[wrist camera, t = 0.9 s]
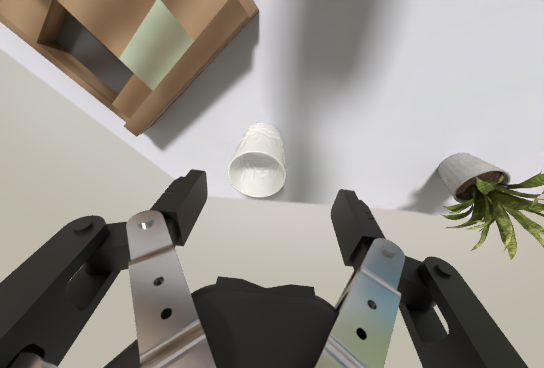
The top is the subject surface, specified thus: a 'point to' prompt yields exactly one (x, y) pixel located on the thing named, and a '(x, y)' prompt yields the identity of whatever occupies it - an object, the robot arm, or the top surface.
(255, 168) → the white cup
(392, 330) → the robot arm
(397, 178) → the top surface
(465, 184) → the house plant
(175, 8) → the box
